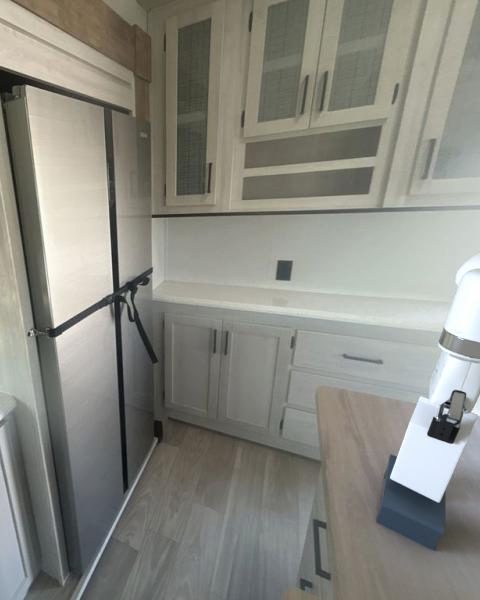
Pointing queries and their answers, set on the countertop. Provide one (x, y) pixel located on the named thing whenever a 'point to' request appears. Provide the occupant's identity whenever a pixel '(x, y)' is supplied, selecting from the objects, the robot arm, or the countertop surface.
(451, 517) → the countertop surface
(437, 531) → the navy blue slab
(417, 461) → the milk carton
